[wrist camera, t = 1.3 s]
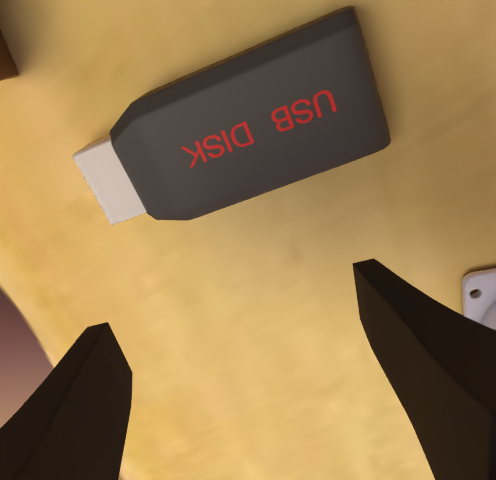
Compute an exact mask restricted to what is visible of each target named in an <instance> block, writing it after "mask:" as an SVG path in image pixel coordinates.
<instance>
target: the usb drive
mask: <svg viewBox="0 0 496 480" xmlns="http://www.w3.org/2000/svg"><path fill="white" fill-rule="evenodd" d="M390 142H391V138H390V133H389V128H388V125H387V121H386V117H385V114H384V110H383V107H382V103H381V99H380V96H379V92H378V89H377V85H376V82H375V78H374V74H373V71H372V67H371V64H370V60H369V56H368V53H367V49H366V46H365V42H364V39H363V35H362V31H361V28H360V24H359V21H358V18H357V15H356V12H355V9H354V6H347V7H344V8H341V9H339V10H337V11H334V12H332V13H329V14H327V15H325V16H323V17H320V18H318V19H316V20H313V21H311V22H309V23H306V24H304V25H302V26H299V27H297V28H295V29H293V30H290V31H288V32H286V33H283V34H281V35H279V36H276V37H274V38H272V39H270V40H267V41H265V42H263V43H260V44H258V45H256V46H253V47H251V48H249V49H247V50H244V51H242V52H240V53H237V54H235V55H233V56H230V57H228V58H226V59H224V60H221V61H219V62H217V63H214V64H212V65H210V66H207V67H205V68H203V69H201V70H198V71H196V72H194V73H191V74H189V75H187V76H184V77H182V78H180V79H178V80H175V81H173V82H171V83H168V84H166V85H164V86H161V87H159V88H157V89H155V90H152V91H150V92H148V93H146V94H145V95H143V96H141V97H140V98H138V99H137V100H135V101H134V102H132V103H131V104H130V105H129V107H128V108H127V109H126V110H125V112H124V113H123V114H122V116H121V117H120V118H119V120H118V121H117V122H116V124H115V125H114V126H113V128H112V129H111V130H110V135H109V136H107V137H104V138H102V139H100V140H97V141H95V142H93V143H90V144H88V145H86V146H85V147H83V148H82V149H80V150H79V151H78V152H76V153H75V154H73V159H74V160H75V162H76V164H77V166H78V167H79V169H80V171H81V173H82V175H83V176H84V178H85V180H86V182H87V183H88V185H89V187H90V189H91V190H92V192H93V194H94V196H95V197H96V199H97V201H98V203H99V204H100V206H101V208H102V210H103V211H104V213H105V215H106V217H107V218H108V220H109V222H110V224H111V225H114V224H117V223H120V222H122V221H125V220H128V219H130V218H133V217H136V216H138V215H141V214H144V213H146V212H147V213H148V214H149V215H150V216H152V217H153V218H154V219H156V220H191V219H194V218H197V217H200V216H203V215H206V214H208V213H211V212H214V211H217V210H219V209H222V208H225V207H228V206H230V205H233V204H236V203H239V202H241V201H244V200H247V199H250V198H252V197H255V196H258V195H261V194H263V193H266V192H269V191H272V190H274V189H277V188H280V187H283V186H285V185H288V184H291V183H294V182H296V181H299V180H302V179H305V178H307V177H310V176H313V175H316V174H318V173H321V172H324V171H327V170H329V169H332V168H335V167H338V166H340V165H343V164H346V163H349V162H351V161H354V160H357V159H360V158H362V157H365V156H368V155H370V154H373V153H375V152H378V151H380V150H382V149H384V148H386V147H387V146H389V144H390Z"/></svg>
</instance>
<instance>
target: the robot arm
mask: <svg viewBox="0 0 496 480" xmlns="http://www.w3.org/2000/svg"><path fill="white" fill-rule="evenodd" d="M353 270H354V277H355V285H356V292H357V300H358V307H359V315H360V320H361V323H362V325H363V328H364V330H365V333H366V336H367V338H368V341H369V343H370V346H371V348H372V350H373V352H374V354H375V356H376V358H377V360H378V361H379V363H380V365H381V367H382V369H383V371H384V373H385V374H386V376H387V378H388V380H389V382H390V384H391V385H392V387H393V389H394V391H395V393H396V395H397V396H398V398H399V400H400V402H401V404H402V406H403V407H404V409H405V411H406V413H407V415H408V417H409V419H410V421H411V423H412V425H413V427H414V430H415V432H416V434H417V437H418V439H419V442H420V444H421V446H422V449H423V451H424V453H425V456H426V458H427V461H428V463H429V466H430V468H431V470H432V473H433V475H434V478H435V480H496V268H494V269H488V270H482V271H476V272H471V273H468V274H467V275H465V276H464V278H463V279H462V301H463V315H461V314H459V313H457V312H455V311H453V310H451V309H450V308H448V307H446V306H444V305H443V304H441V303H439V302H437V301H436V300H434V299H432V298H431V297H429V296H427V295H426V294H424V293H423V292H421V291H420V290H418V289H417V288H415V287H414V286H412V285H411V284H409V283H408V282H406V281H405V280H403V279H402V278H400V277H399V276H398V275H396V274H395V273H393V272H392V271H391V270H389V269H388V268H387V267H385V266H384V265H383V264H381V263H380V262H378V261H377V260H375V259H370V260H365V261H361V262H357V263H353ZM475 289H478V291H477V292H476V293H474V294H470V292H471V291H472V290H475ZM131 399H132V371H131V369H130V367H129V365H128V362H127V360H126V358H125V356H124V354H123V352H122V350H121V348H120V346H119V344H118V342H117V340H116V338H115V336H114V334H113V332H112V329H111V327H110V325H109V323H108V322H106V323H102V324H98V325H94V326H90V327H87V328H86V329H85V331H84V332H83V333H82V334H81V335H80V336H79V338H78V339H77V340H76V341H75V343H74V344H73V345H72V346H71V348H70V349H69V350H68V352H67V353H66V354H65V355H64V357H63V358H62V359H61V360H60V362H59V363H58V364H57V365H56V367H55V368H54V369H53V370H52V372H51V373H50V374H49V375H48V377H47V378H46V379H45V380H44V382H43V383H42V384H41V385H40V386H39V387H38V388H37V389H36V391H35V392H34V393H33V394H32V395H31V396H30V397H29V399H28V400H27V401H26V402H25V403H24V404H23V406H22V407H21V408H20V409H19V410H18V411H17V412H16V413H15V414H14V415H13V416H12V417H11V418H10V419H9V420H8V421H7V423H5V424H4V425H3V426H2V427H1V428H0V480H118V478H119V472H120V466H121V461H122V455H123V450H124V444H125V439H126V433H127V427H128V421H129V415H130V409H131Z"/></svg>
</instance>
